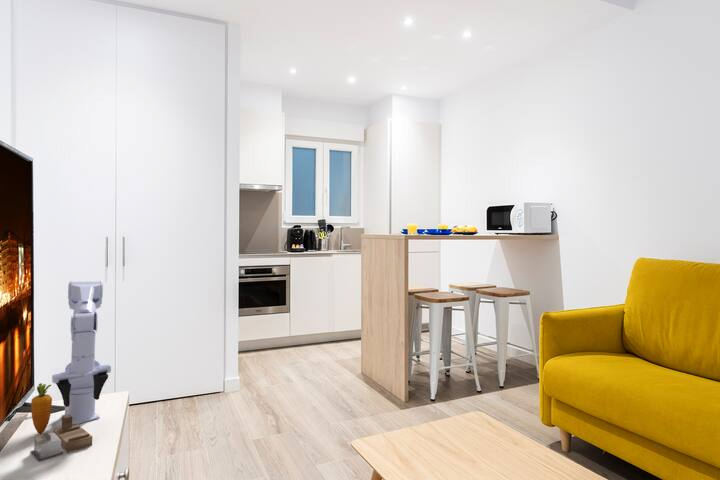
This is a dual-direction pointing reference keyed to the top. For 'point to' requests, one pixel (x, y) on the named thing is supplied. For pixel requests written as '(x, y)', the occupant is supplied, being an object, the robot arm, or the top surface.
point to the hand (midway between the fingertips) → (81, 402)
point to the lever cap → (47, 445)
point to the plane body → (72, 435)
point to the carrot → (41, 409)
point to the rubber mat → (44, 458)
